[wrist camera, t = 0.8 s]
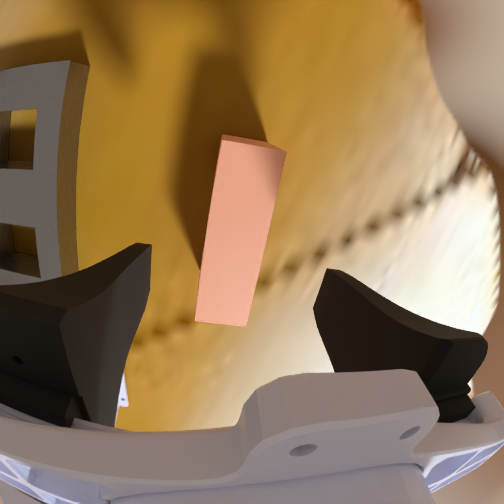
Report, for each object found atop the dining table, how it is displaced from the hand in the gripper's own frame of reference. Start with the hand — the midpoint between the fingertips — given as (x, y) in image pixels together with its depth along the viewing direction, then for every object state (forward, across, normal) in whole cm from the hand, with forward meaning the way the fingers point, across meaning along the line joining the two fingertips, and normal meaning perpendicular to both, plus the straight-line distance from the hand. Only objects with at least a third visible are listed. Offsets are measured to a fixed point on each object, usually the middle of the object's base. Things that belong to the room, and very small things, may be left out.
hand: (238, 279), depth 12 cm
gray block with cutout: (+9, +16, 0) cm, 19 cm away
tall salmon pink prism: (+9, 0, 0) cm, 9 cm away
